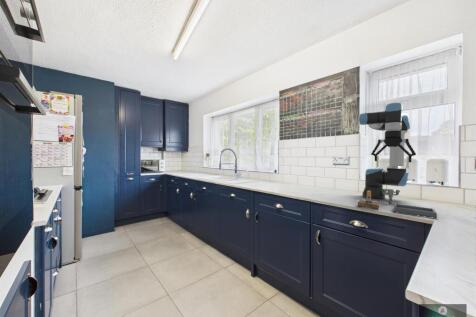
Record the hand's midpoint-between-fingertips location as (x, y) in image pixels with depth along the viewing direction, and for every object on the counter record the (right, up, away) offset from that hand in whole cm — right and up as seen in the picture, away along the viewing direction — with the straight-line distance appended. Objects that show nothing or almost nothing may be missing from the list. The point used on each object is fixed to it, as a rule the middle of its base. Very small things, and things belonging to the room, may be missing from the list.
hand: (391, 167), depth 115 cm
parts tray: (+14, -27, +2) cm, 30 cm away
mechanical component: (+17, -26, +23) cm, 39 cm away
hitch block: (-3, -26, +15) cm, 30 cm away
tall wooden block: (-3, -26, +15) cm, 30 cm away
